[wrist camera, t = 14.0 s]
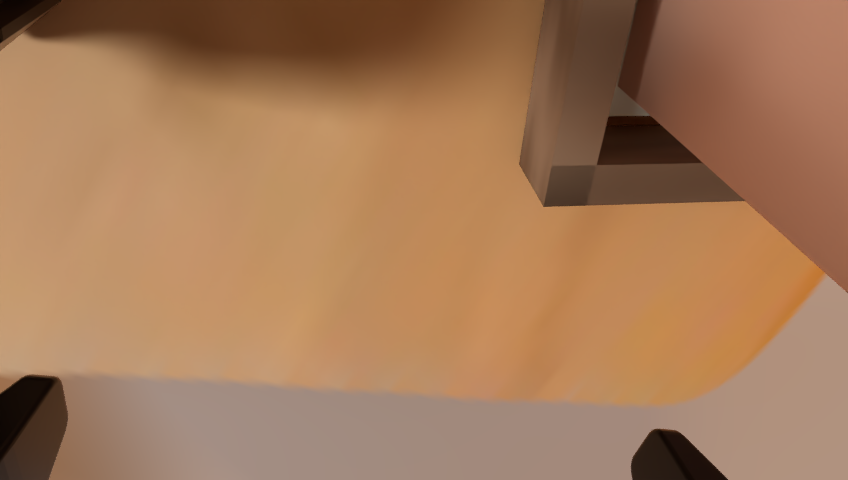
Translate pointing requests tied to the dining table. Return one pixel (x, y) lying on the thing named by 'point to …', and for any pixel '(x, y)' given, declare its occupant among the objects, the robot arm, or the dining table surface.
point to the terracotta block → (756, 105)
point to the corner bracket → (600, 120)
